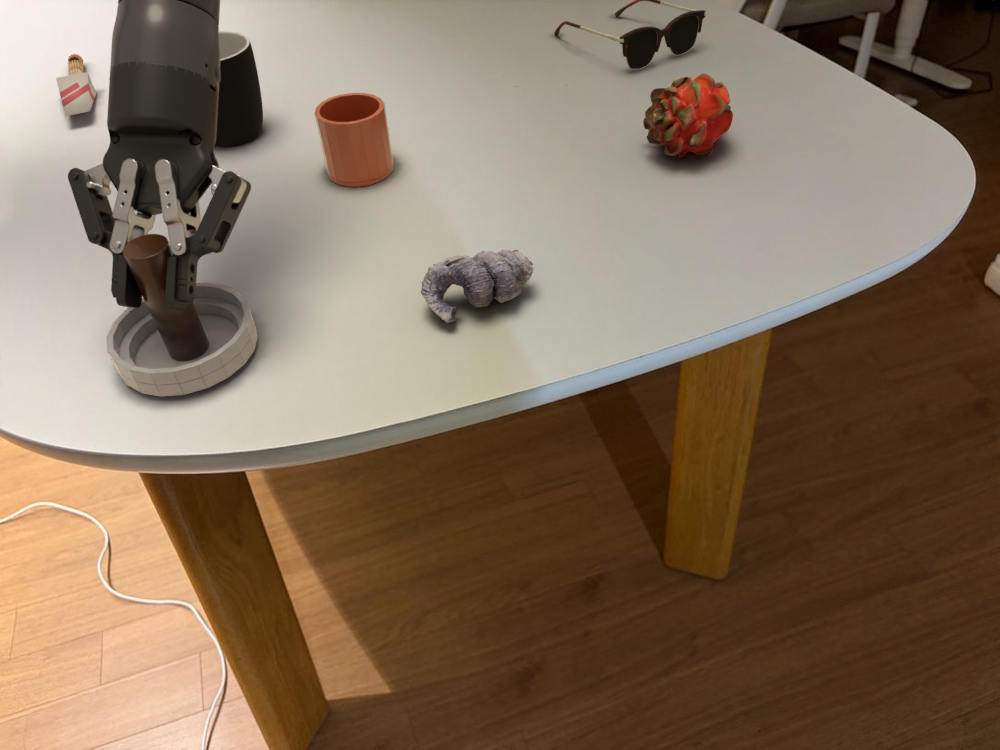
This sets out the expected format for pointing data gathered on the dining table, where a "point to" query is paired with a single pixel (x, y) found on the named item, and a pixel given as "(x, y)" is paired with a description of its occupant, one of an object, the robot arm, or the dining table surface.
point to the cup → (355, 139)
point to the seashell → (476, 279)
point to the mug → (238, 92)
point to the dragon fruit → (688, 115)
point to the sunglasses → (655, 36)
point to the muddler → (150, 275)
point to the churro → (76, 88)
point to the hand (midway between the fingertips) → (153, 306)
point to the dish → (160, 375)
